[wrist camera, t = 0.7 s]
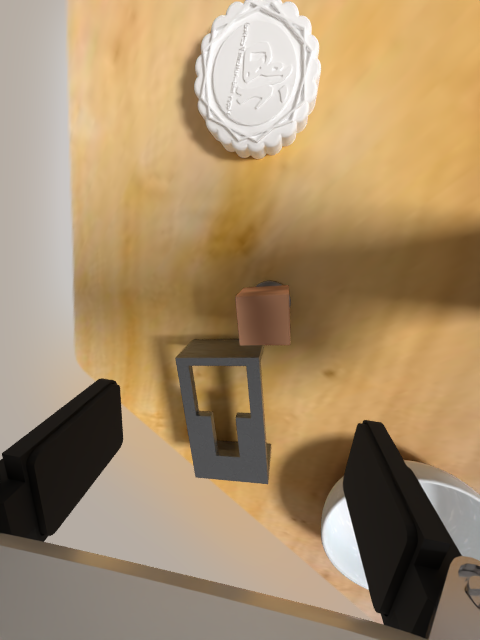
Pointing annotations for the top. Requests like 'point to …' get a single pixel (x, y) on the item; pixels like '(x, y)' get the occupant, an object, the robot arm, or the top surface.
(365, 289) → the top surface
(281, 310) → the keyhole peg
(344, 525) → the serving bowl
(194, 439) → the keyhole bracket
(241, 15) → the mooncake
